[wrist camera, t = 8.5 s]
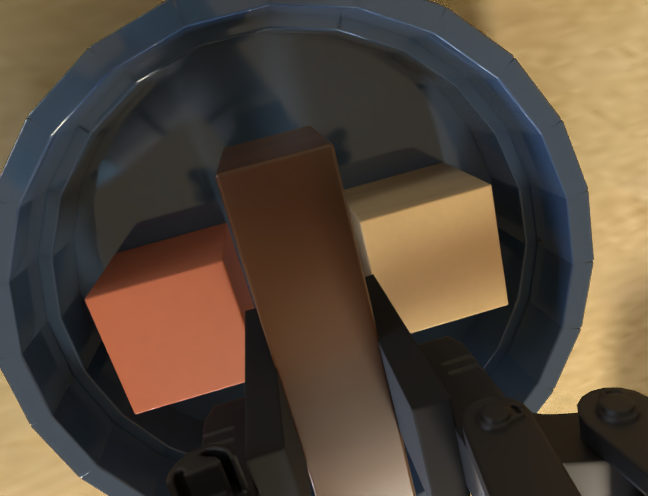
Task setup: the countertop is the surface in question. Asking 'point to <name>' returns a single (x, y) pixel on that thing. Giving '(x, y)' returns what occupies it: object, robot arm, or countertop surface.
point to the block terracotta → (174, 317)
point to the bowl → (208, 209)
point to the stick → (315, 309)
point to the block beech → (430, 243)
